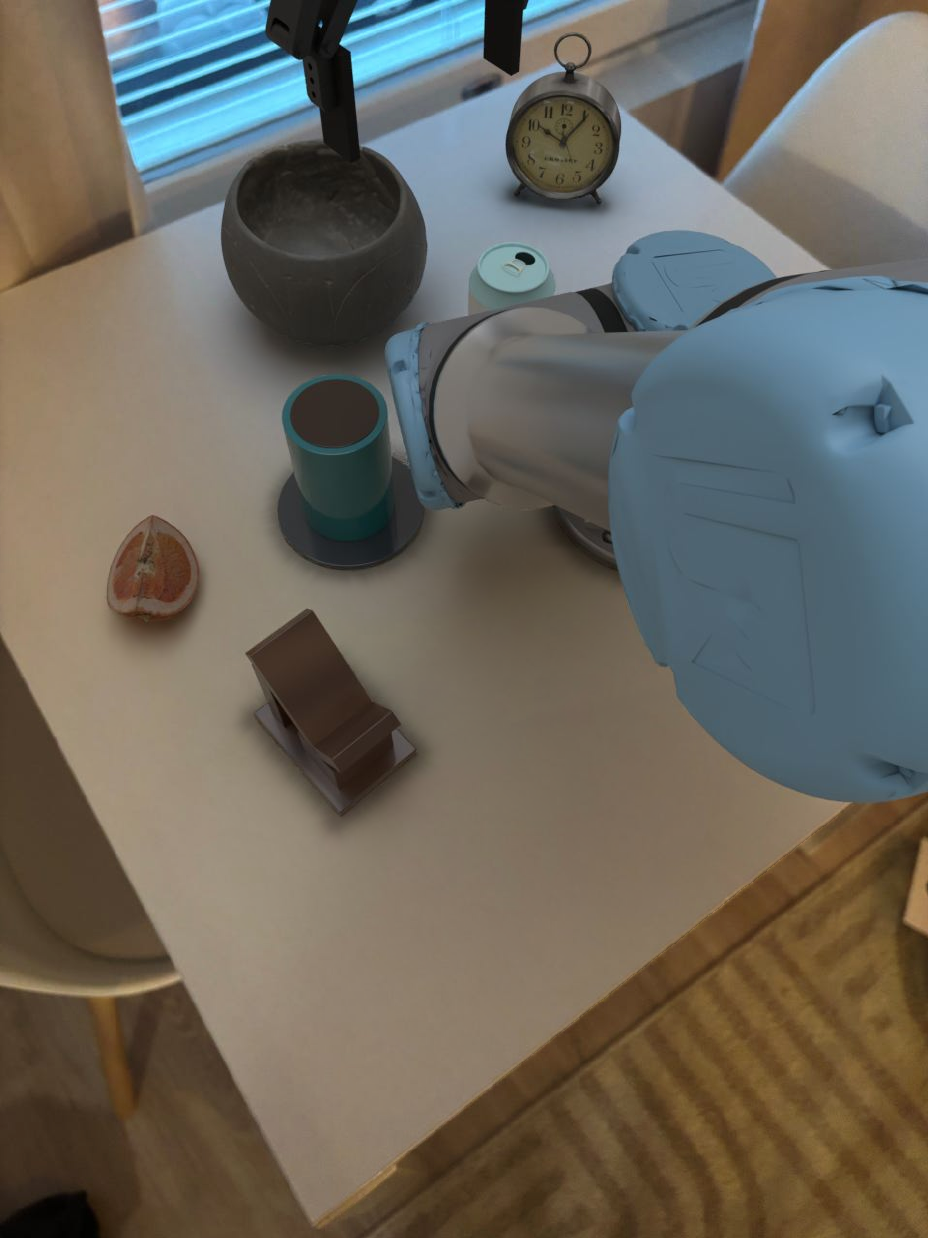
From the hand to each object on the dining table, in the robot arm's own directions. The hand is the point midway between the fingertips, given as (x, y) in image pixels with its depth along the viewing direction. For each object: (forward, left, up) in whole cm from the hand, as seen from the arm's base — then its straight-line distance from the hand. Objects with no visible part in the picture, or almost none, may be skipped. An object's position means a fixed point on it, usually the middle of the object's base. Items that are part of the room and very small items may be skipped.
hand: (424, 106), depth 61 cm
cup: (+9, +11, -21) cm, 25 cm away
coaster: (+9, +11, -27) cm, 30 cm away
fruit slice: (+25, +16, -27) cm, 40 cm away
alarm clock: (-18, -24, -27) cm, 40 cm away
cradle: (+13, +31, -27) cm, 43 cm away
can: (-7, -1, -27) cm, 28 cm away
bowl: (+7, -12, -27) cm, 30 cm away
